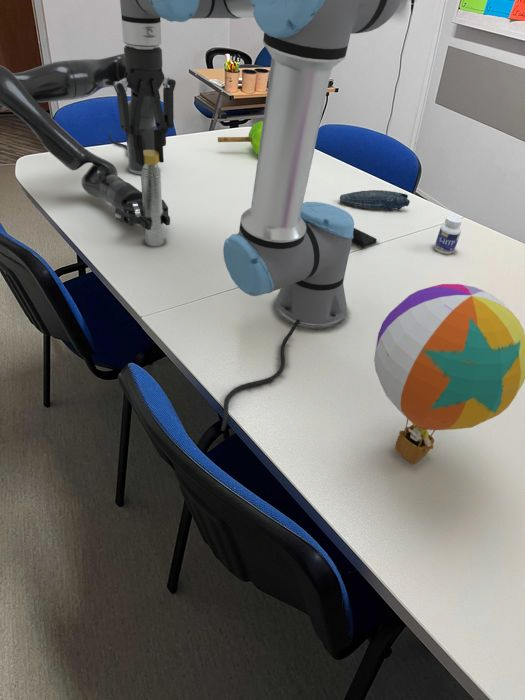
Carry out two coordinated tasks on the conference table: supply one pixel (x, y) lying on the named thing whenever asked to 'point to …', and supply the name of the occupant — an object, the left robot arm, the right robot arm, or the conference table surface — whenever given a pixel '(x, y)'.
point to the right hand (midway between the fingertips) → (149, 161)
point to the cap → (151, 157)
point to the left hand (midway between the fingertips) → (158, 223)
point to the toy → (448, 362)
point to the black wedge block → (362, 238)
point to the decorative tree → (253, 137)
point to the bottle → (152, 204)
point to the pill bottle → (448, 235)
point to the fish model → (376, 199)
